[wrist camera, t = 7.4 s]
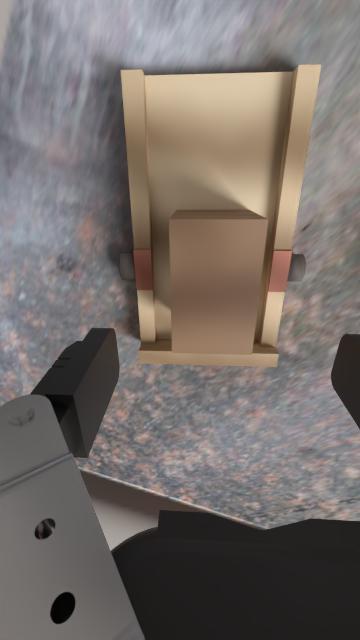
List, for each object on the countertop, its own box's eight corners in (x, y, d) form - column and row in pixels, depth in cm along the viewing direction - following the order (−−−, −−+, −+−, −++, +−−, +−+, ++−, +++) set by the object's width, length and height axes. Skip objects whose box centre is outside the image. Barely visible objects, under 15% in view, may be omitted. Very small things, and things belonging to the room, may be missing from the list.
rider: (176, 209, 20) (168, 219, 15) (248, 209, 20) (268, 219, 14) (177, 313, 23) (171, 353, 18) (239, 314, 23) (251, 355, 18)
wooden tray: (110, 83, 18) (93, 63, 15) (327, 77, 17) (353, 56, 14) (133, 343, 26) (125, 362, 23) (281, 346, 26) (291, 367, 23)
